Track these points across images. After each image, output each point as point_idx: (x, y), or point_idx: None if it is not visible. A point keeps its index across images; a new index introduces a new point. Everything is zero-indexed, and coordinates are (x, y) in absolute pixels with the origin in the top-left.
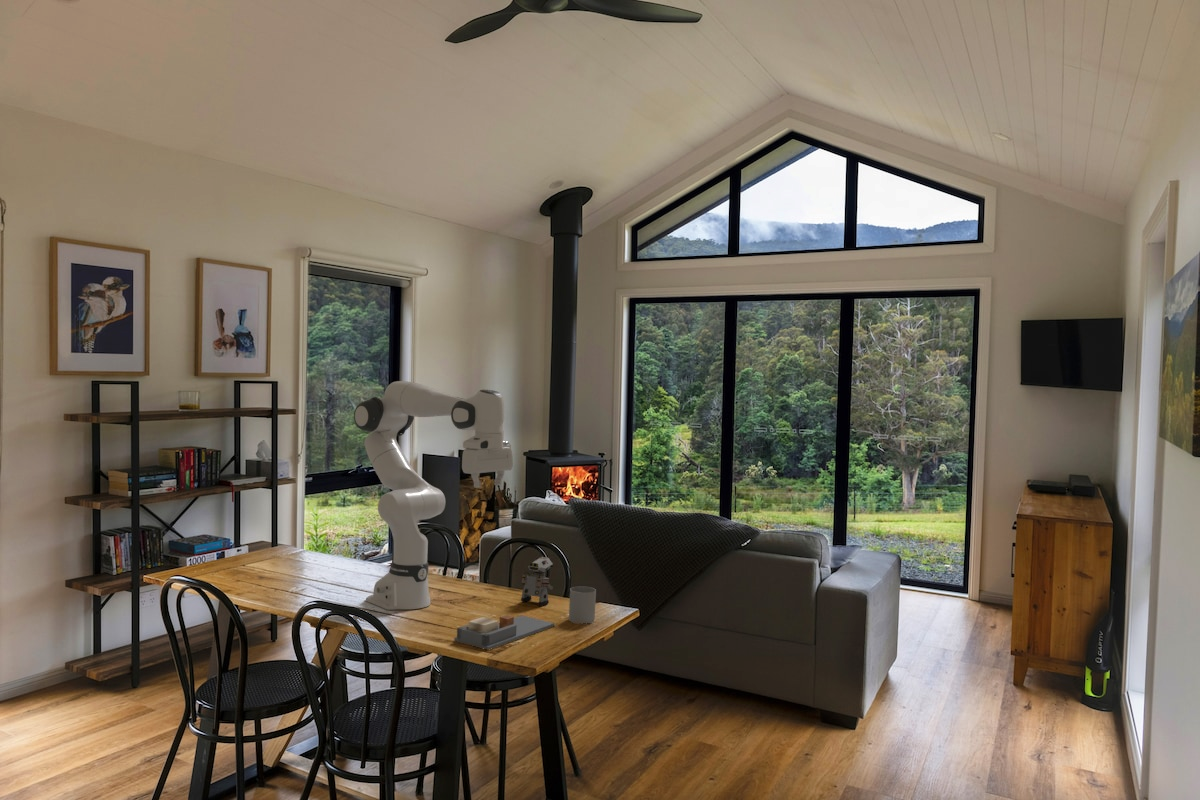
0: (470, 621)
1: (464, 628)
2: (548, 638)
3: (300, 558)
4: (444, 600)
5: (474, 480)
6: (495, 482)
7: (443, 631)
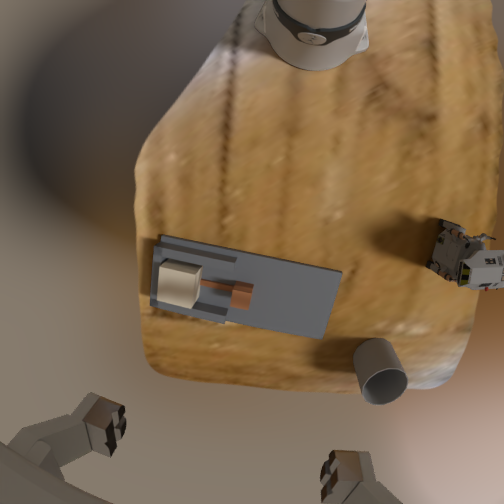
0: (160, 269)
1: (158, 257)
2: (257, 352)
3: None
4: (377, 76)
5: (59, 428)
6: (336, 468)
7: (196, 187)
